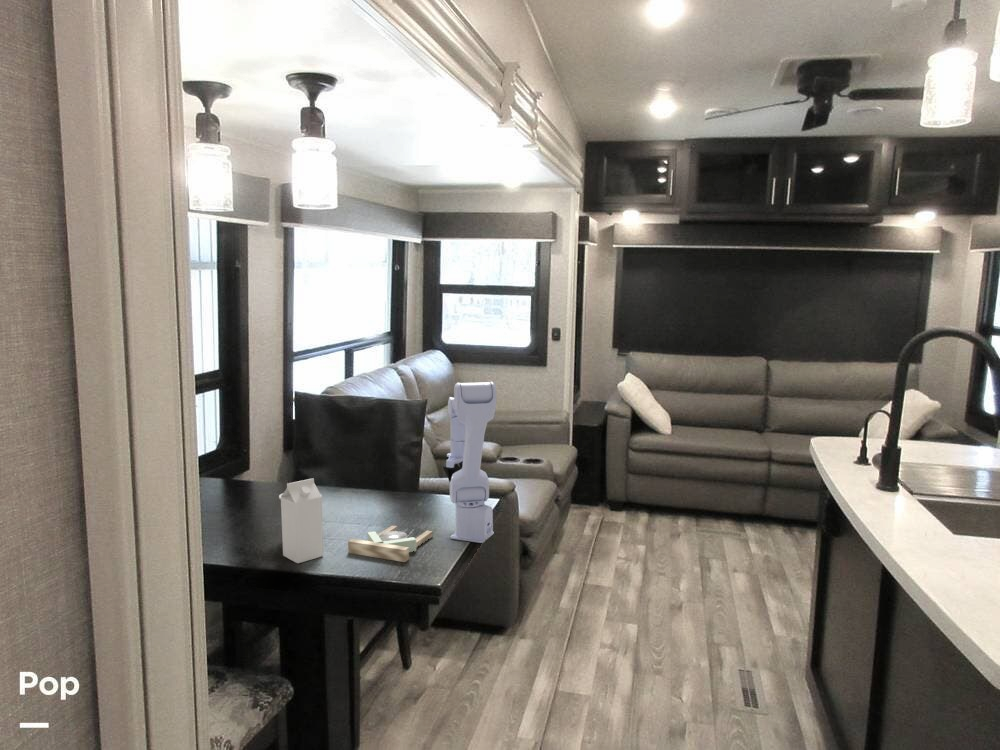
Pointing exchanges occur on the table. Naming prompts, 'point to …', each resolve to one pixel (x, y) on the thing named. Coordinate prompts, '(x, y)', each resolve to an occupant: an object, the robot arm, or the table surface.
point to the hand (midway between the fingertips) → (460, 486)
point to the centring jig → (387, 545)
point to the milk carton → (302, 521)
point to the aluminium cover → (392, 535)
